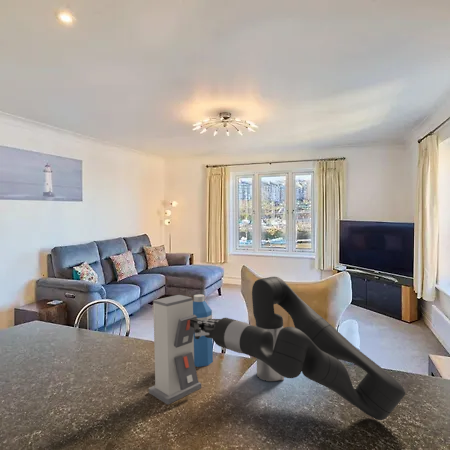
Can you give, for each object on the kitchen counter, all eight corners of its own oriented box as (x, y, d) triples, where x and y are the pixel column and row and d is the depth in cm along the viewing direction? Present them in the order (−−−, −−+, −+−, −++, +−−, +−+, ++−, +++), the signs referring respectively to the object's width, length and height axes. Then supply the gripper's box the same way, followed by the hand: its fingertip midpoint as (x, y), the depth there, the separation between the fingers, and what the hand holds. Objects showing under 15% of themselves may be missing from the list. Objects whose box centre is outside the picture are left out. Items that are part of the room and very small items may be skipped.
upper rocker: (173, 345, 99) (178, 318, 97) (189, 340, 103) (194, 314, 101) (176, 348, 98) (181, 321, 96) (192, 342, 102) (197, 316, 100)
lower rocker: (180, 389, 97) (174, 358, 99) (196, 382, 102) (189, 352, 103) (183, 390, 96) (177, 358, 98) (199, 382, 101) (192, 352, 102)
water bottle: (214, 356, 129) (213, 292, 129) (211, 367, 120) (209, 298, 120) (190, 356, 130) (189, 292, 130) (185, 366, 121) (184, 298, 121)
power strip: (148, 392, 103) (146, 300, 103) (181, 378, 112) (179, 293, 112) (167, 404, 96) (165, 305, 96) (201, 387, 105) (199, 297, 105)
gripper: (217, 357, 81) (174, 341, 93) (251, 342, 90) (208, 329, 102) (216, 327, 81) (173, 314, 93) (251, 315, 90) (208, 305, 102)
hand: (191, 322), depth 98 cm, fingers closed
